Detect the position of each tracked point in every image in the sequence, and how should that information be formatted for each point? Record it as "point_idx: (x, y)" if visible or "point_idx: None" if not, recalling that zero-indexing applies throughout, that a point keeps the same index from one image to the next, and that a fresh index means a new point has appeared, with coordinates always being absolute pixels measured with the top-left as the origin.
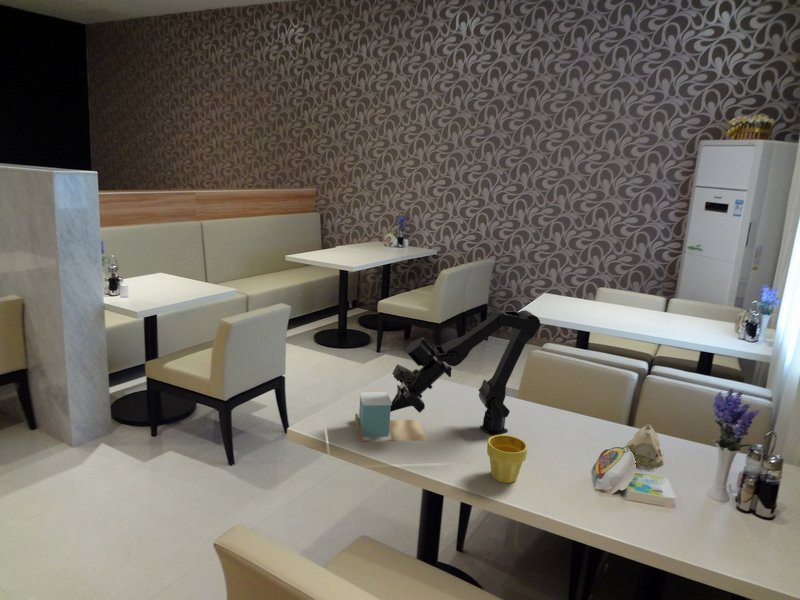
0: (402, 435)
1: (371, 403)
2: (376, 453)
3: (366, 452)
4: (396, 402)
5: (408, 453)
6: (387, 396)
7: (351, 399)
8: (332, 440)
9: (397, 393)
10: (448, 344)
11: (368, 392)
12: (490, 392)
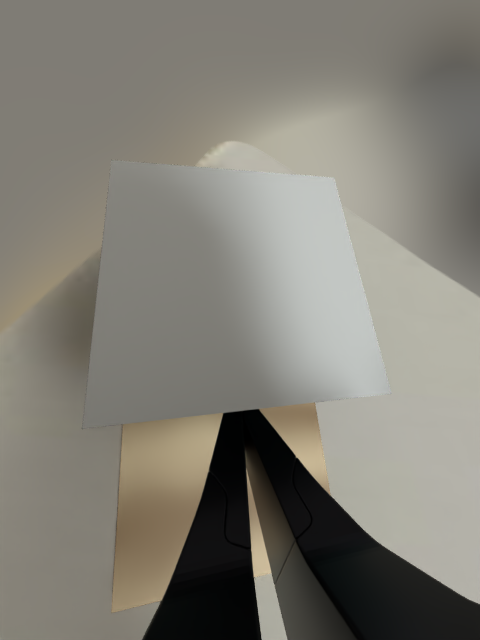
0: (175, 460)
1: (105, 218)
2: (47, 335)
3: (64, 301)
4: (205, 487)
5: (13, 478)
6: (284, 389)
7: (452, 290)
8: None
9: (344, 541)
10: None
11: (345, 232)
12: None
